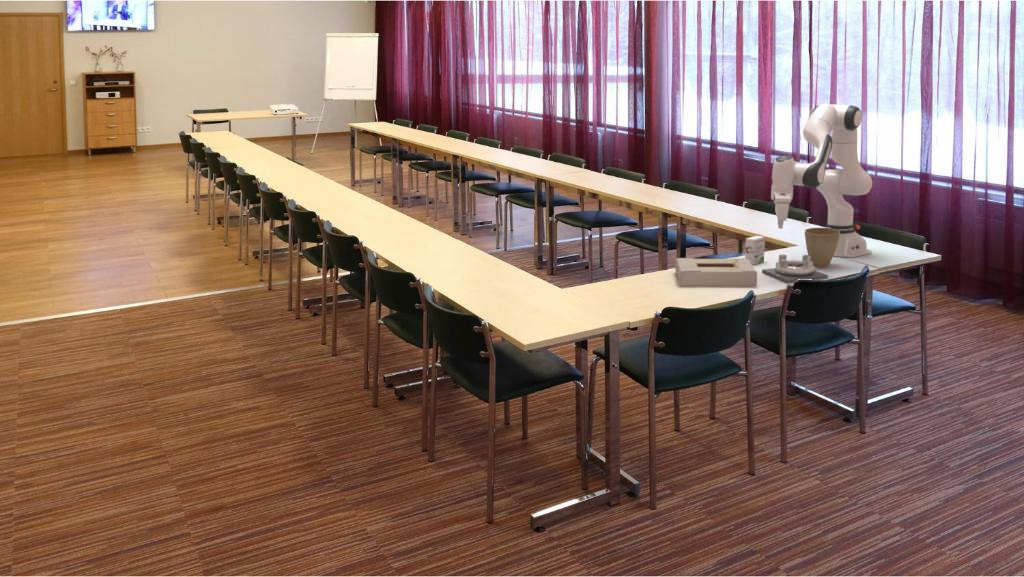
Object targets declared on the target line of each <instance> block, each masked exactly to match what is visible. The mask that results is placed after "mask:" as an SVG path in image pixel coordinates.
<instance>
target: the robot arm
mask: <svg viewBox="0 0 1024 577" xmlns="http://www.w3.org/2000/svg"><path fill="white" fill-rule="evenodd" d="M862 119H863V113H862V111H861V109H860V107H858V106H856V105H847V104H839V103H836V104H834V103H833V104H830V103H821V104H819V105H816V106H815V107H814V108H813V109H812V112H811V114H810V117H808V120H807V121H806V122H805V124H804V126H803V130H802V134H803V138H804V140H805V141H806V142H807V143H808V144H809V145H810V146H812V147H814V148H816V149H818V150H817V152H816V156H815V160H814V161H813V162H809V163H807V162H800V161H795V160H794V157H793V156H791V155H779V156H776V158H774V161H773V165H772V171H771V172H772V174H771V178H772V185H771V189H770V190H771V192H770V199H771V200H772V201H773V203H774V204H775V208H774V210H775V215H776V219H777V226H778V227H777V228H778V230H781V229H783V228H784V222H786V221H787V220H788V215H789V209H790V203H791V202H792V200H793V196H794V186H799V187H806V188H811V189H815V188H816V190H817V191H818V192H819V193H820V194H821V196H823V198H824V199H825V201H826V205H827V222H826V227H825V228H831V229H836V230H839V231H840V235H839V240H838V244H837V247H836V250H835V253H834V256H833V257H840V258H841V257H843V258H854V257H860V256H866V255H871V254H872V250H871V249H869V248H867V241H866V239H865V238H864V237H863V236H861V235H860V234H859V233H857V231H856V230H860V228H861V225H859V224H854V207H853V206H852V204H850V203H849V202H847V201H846V200H845V199H844V196H843V195H846V196H863V195H867V194H868V193H870V191H871V189H872V188H873V187H872V186H873V179H872V177H871V175H870V174H869V173H868V172H866V170H865V169H864V168H863V167H862V165H861V163H860V161H859V157H858V156H859V155H858V127H859V126H860V125H861V122H862ZM830 155H831V156H830ZM830 157H831V159H832V160H833V161H834V162H835V163H836V164H839V166H840V167H841V168H842V169H831V168H829V169H827V164H828V161H829V158H830Z"/></svg>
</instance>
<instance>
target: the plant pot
mask: <svg viewBox="0 0 1024 577" xmlns="http://www.w3.org/2000/svg"><path fill="white" fill-rule="evenodd" d="M839 235H840V231H839V230H836V229H831V228H826V227H809V228H806V229H805V230H804V237H805V238H804V239H805V246H806V252H807V255H809V256H810V261H813V262H812V264H814V265H815V268H816V269H817V268H819V269H825V268H828V267H829V266H830V265H831V262H832V260H833V258H834V257H835V256H834V253H835V250H836V247H837V244H838V240H839Z"/></svg>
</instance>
